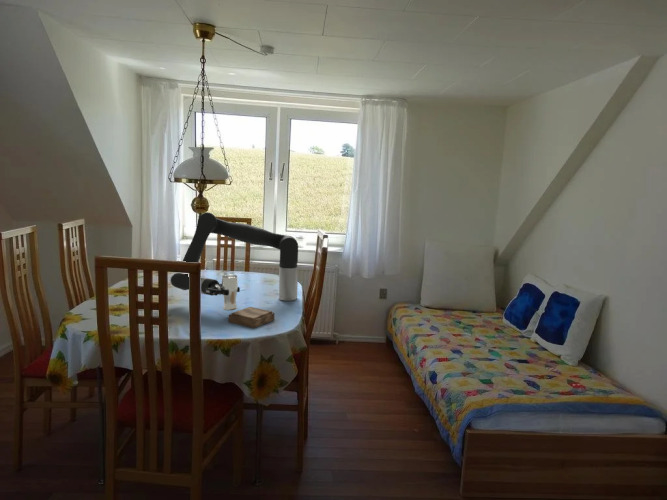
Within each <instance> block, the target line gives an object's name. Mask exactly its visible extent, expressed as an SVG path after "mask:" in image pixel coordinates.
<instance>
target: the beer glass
mask: <svg viewBox="0 0 667 500" xmlns="http://www.w3.org/2000/svg"><path fill="white" fill-rule="evenodd" d="M221 276H222V277H221V278H222V279H221V284H222V289H223V290H228V291H229V295H222V296H223V310H224V311H235V310H237V309H238V306H237V297H238V296H237V295H238V292H237V290H238V287H239V281H238V275H236V274H224V275H221Z"/></svg>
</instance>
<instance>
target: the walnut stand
mask: <svg viewBox="0 0 667 500" xmlns="http://www.w3.org/2000/svg"><path fill="white" fill-rule="evenodd" d="M273 321H275V312H272V310H268V309H263V308H259V307H253V306H248V307H245V308H243V309H239V310H237V311H233V312H231V313H230V314H228V323H231V324H235V325H240V326H243V327H246V328H247V327H248V328H252V329H255V328H258V327H261V326H262V325H266V324H268V323H270V322H273Z"/></svg>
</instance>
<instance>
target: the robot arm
mask: <svg viewBox="0 0 667 500" xmlns="http://www.w3.org/2000/svg"><path fill="white" fill-rule="evenodd" d="M210 234H216V235H220V236H225V237H228V238H230V239H233V240H236V241H239V242H242V243H245V244H249V245H253V246H255V245H256V246H263V247H264V246H265V247H271V248H275V249H276V250H279V263H278V265H279V268H278V270H279V271H278V272H279V273H278V274H279V275H278V277H279V278H278V279H279V280H278V300H279V301H284V302H293V301H296V300H297V298H298V263H299V262H298V261H299V242H298V241H297V239H296V238H295V237H293V236H291V235H287V234H279V233H275V232H271V231H268V230H266V229H264V228H261V227H258V226H255V225H251V224H248V223H243V222H231V221H226V220H223V219H220V218H217V217H216V216H215V214H213V213H212V212H208V211H207V212H203V213H201V214H200V215H199V216H198V218H197V224H196V228H195V231H194V235H193V237H192V240H191V242H190V244H189V246H188V248H187V251H186V252H185V255H184V257H183V259H182V261H186V262H198V263H199V261H200V259H201V256H202V253H203V250H204V248H205V244H206V242H207V240H208V238H209V236H210ZM200 278H201V293H200V294H202V295H205V296H206V295H207V296H223V295H229V291H228V290H223V289H222V282H221V283H220V282H219V281H218V280H217V279H214V278H208V277H200ZM169 281H170V284H171V285H172V287H174V288H177V289H180V290H183V291H188V290H189V277H188V274H184V273H181V272H176V273H174V274H173V275H171V277H170V280H169ZM189 291H190V290H189ZM240 291H241V288H240V287H239V286H238V290H237V293H240Z"/></svg>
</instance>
